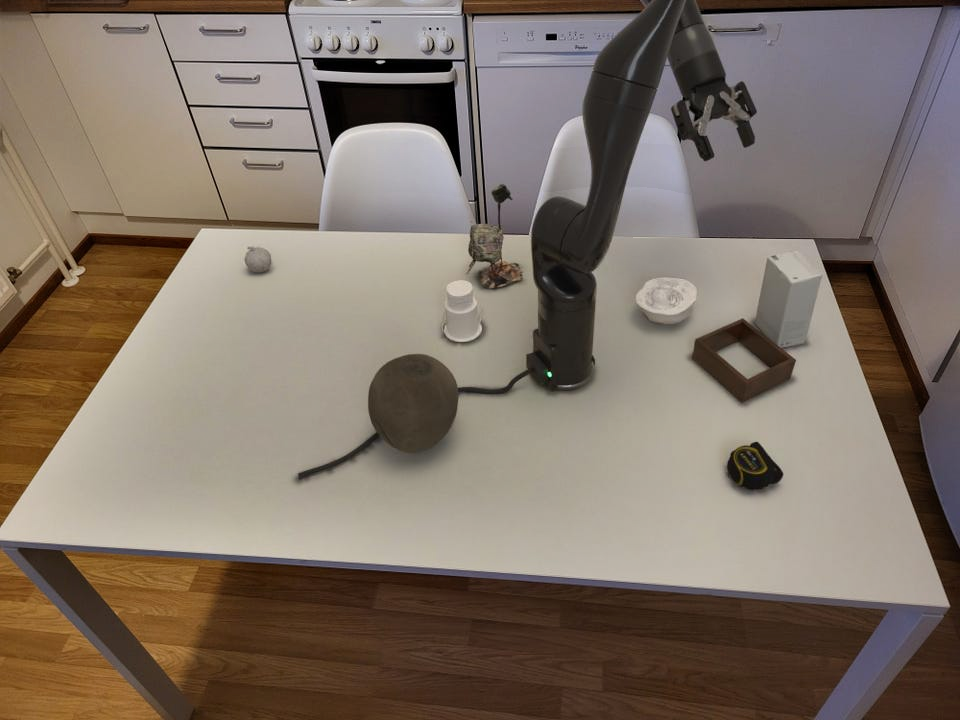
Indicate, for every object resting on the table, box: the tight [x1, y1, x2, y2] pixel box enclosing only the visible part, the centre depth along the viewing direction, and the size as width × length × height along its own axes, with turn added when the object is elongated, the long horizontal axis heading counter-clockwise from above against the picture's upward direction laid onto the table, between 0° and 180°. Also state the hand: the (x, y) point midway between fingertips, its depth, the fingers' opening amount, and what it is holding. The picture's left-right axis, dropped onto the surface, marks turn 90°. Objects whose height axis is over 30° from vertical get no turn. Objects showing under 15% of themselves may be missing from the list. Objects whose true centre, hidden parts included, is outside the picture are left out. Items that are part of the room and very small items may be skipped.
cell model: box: [635, 276, 698, 325], centre depth 141 cm, size 10×12×7 cm
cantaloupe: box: [367, 353, 459, 454], centre depth 120 cm, size 14×14×15 cm
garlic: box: [244, 246, 272, 273], centre depth 159 cm, size 6×5×5 cm
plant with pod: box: [465, 183, 524, 289], centre depth 148 cm, size 8×11×20 cm
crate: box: [691, 317, 797, 404], centre depth 131 cm, size 11×13×4 cm
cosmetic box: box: [754, 250, 823, 349], centre depth 133 cm, size 8×6×15 cm
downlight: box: [440, 279, 484, 343], centre depth 140 cm, size 8×7×10 cm
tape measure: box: [726, 441, 784, 491], centre depth 114 cm, size 7×7×4 cm
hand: (730, 152), depth 127 cm, fingers open, 8 cm apart
